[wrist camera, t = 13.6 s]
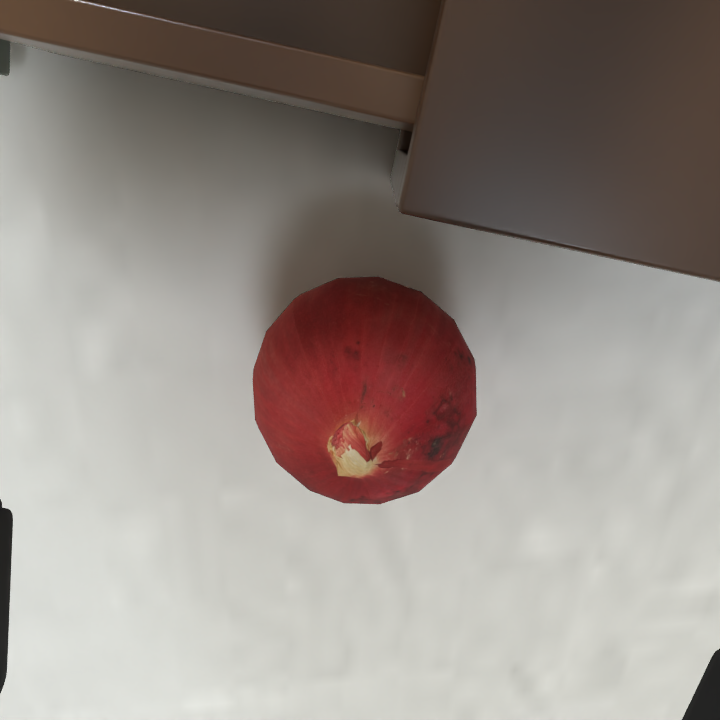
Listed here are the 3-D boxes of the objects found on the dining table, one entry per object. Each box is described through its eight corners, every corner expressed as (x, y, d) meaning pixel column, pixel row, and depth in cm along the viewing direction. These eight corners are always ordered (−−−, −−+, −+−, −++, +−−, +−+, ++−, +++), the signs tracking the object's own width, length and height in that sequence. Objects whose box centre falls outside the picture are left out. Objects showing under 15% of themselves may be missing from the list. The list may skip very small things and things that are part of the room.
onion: (489, 294, 20) (556, 390, 12) (418, 451, 22) (439, 620, 14) (309, 227, 19) (264, 283, 12) (253, 394, 21) (182, 536, 14)
